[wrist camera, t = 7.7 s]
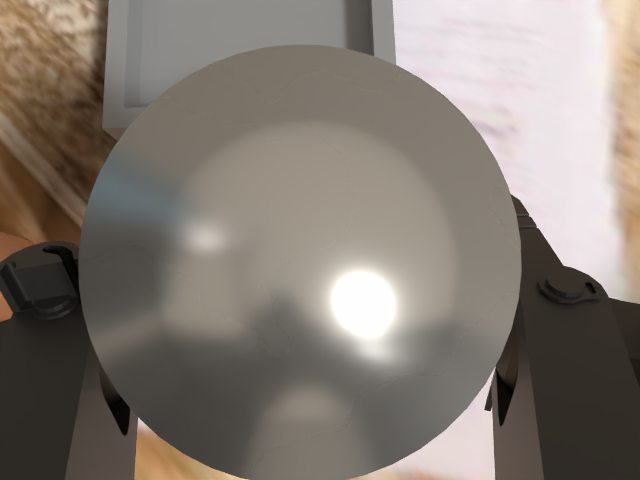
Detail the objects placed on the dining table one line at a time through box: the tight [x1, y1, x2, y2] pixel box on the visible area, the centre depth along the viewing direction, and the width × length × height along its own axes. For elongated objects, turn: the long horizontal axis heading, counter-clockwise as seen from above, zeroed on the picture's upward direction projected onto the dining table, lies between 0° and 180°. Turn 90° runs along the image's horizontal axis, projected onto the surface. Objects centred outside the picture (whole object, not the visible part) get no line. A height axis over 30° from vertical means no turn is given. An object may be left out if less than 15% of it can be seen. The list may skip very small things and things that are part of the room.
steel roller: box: [78, 44, 522, 480], centre depth 11 cm, size 5×5×11 cm
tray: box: [102, 0, 396, 141], centre depth 25 cm, size 14×14×2 cm
